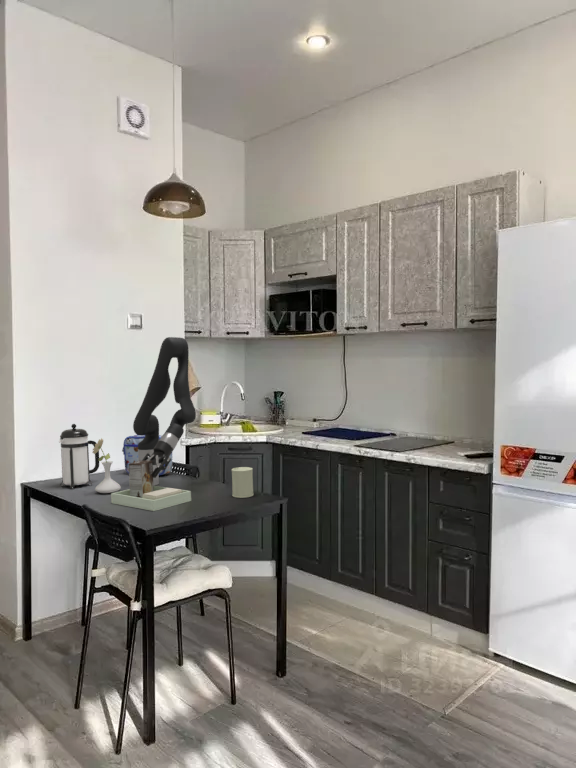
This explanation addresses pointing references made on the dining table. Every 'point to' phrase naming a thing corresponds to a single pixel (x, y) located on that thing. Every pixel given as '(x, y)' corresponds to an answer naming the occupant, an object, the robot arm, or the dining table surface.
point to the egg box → (161, 493)
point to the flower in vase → (107, 483)
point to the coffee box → (140, 478)
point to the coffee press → (76, 457)
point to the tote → (148, 504)
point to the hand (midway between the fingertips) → (146, 475)
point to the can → (242, 482)
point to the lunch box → (132, 452)
